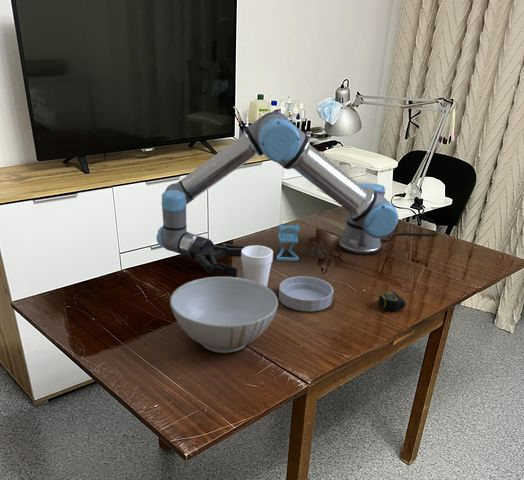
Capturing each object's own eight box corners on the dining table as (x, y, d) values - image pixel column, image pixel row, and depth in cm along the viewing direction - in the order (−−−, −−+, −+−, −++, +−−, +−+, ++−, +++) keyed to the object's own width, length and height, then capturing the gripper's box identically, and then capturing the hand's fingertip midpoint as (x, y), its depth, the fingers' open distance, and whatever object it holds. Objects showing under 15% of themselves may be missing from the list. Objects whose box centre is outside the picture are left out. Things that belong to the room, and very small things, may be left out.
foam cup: (235, 286, 170) (236, 247, 163) (263, 282, 173) (265, 243, 166) (247, 300, 163) (248, 259, 156) (275, 295, 166) (278, 255, 159)
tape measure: (405, 311, 162) (407, 300, 159) (384, 313, 160) (386, 302, 158) (393, 300, 167) (395, 289, 165) (373, 303, 165) (375, 292, 163)
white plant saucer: (309, 284, 174) (310, 272, 172) (342, 304, 163) (344, 292, 161) (268, 295, 166) (269, 283, 164) (300, 317, 155) (301, 305, 153)
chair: (296, 251, 196) (299, 219, 190) (298, 260, 189) (301, 227, 183) (275, 250, 196) (277, 218, 190) (276, 260, 189) (278, 226, 183)
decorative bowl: (265, 376, 130) (268, 332, 124) (157, 361, 134) (154, 317, 127) (282, 322, 153) (285, 282, 146) (189, 310, 156) (187, 271, 150)
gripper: (222, 247, 186) (273, 265, 176) (170, 270, 169) (223, 291, 159) (222, 226, 182) (274, 242, 172) (169, 247, 165) (223, 267, 155)
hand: (250, 266), depth 165 cm, fingers open, 13 cm apart
